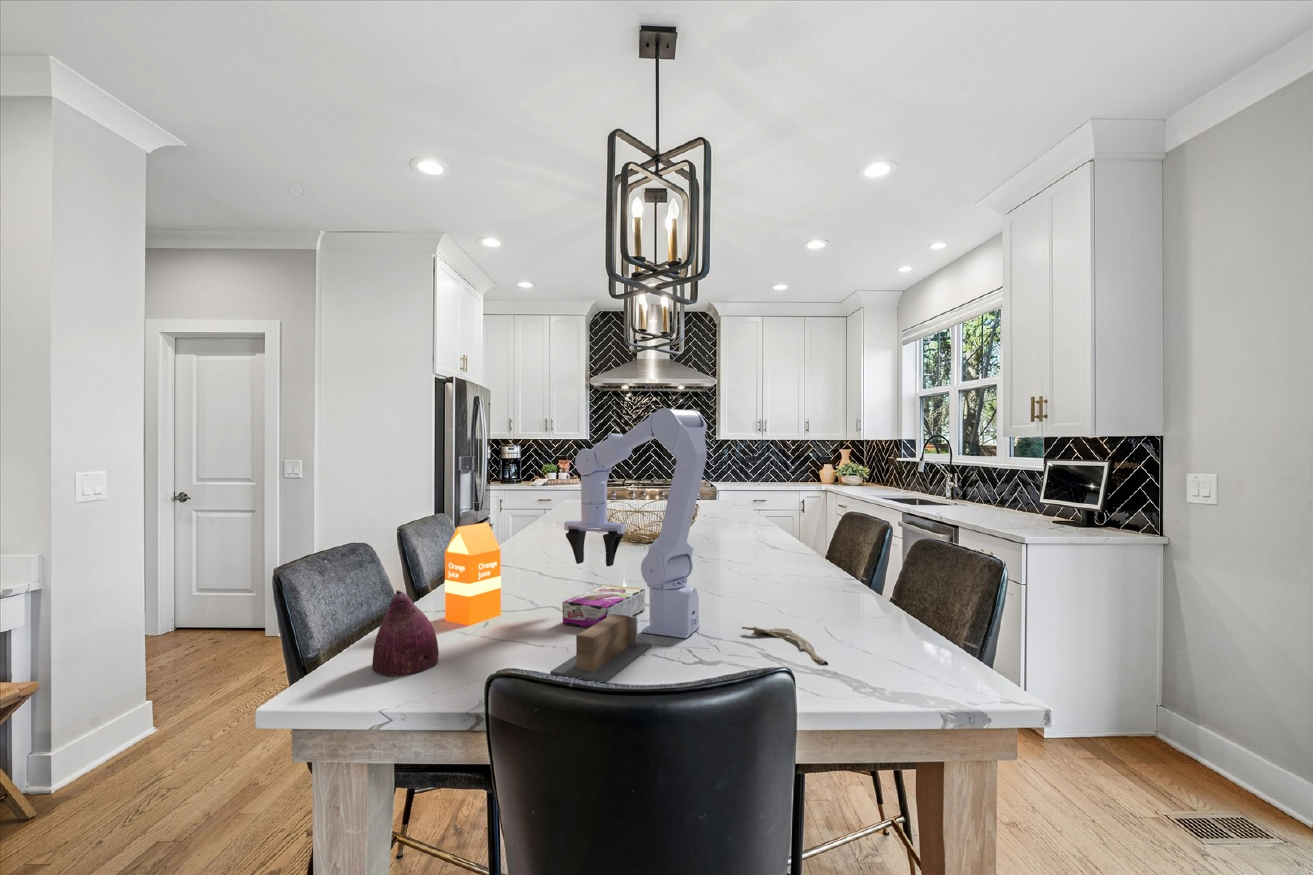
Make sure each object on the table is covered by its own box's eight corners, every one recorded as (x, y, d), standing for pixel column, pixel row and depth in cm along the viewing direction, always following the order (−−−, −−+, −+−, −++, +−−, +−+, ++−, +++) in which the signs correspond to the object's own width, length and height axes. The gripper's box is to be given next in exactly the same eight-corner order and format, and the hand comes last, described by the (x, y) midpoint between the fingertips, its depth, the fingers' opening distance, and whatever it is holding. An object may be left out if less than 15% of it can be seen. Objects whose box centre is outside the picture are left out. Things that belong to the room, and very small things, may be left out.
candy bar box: (561, 600, 124) (602, 583, 138) (561, 624, 123) (602, 605, 138) (608, 606, 119) (645, 588, 134) (608, 631, 119) (645, 610, 133)
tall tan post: (601, 672, 97) (600, 638, 97) (569, 667, 99) (568, 634, 99) (637, 646, 109) (637, 615, 109) (608, 641, 112) (608, 612, 112)
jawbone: (772, 631, 122) (773, 620, 122) (858, 662, 105) (859, 650, 105) (740, 635, 117) (741, 625, 117) (825, 669, 100) (825, 657, 100)
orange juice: (444, 620, 127) (443, 526, 128) (477, 609, 135) (476, 521, 135) (469, 625, 123) (469, 528, 123) (501, 615, 131) (501, 523, 131)
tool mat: (651, 646, 110) (651, 644, 110) (604, 683, 94) (604, 680, 94) (603, 639, 114) (603, 637, 114) (550, 673, 98) (550, 671, 98)
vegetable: (416, 696, 97) (412, 614, 93) (359, 683, 99) (353, 603, 95) (451, 658, 107) (449, 582, 103) (399, 647, 109) (395, 572, 105)
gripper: (556, 503, 132) (557, 565, 132) (614, 506, 127) (615, 570, 127) (573, 500, 139) (573, 559, 139) (629, 502, 133) (630, 563, 133)
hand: (594, 564), depth 133 cm, fingers open, 7 cm apart
